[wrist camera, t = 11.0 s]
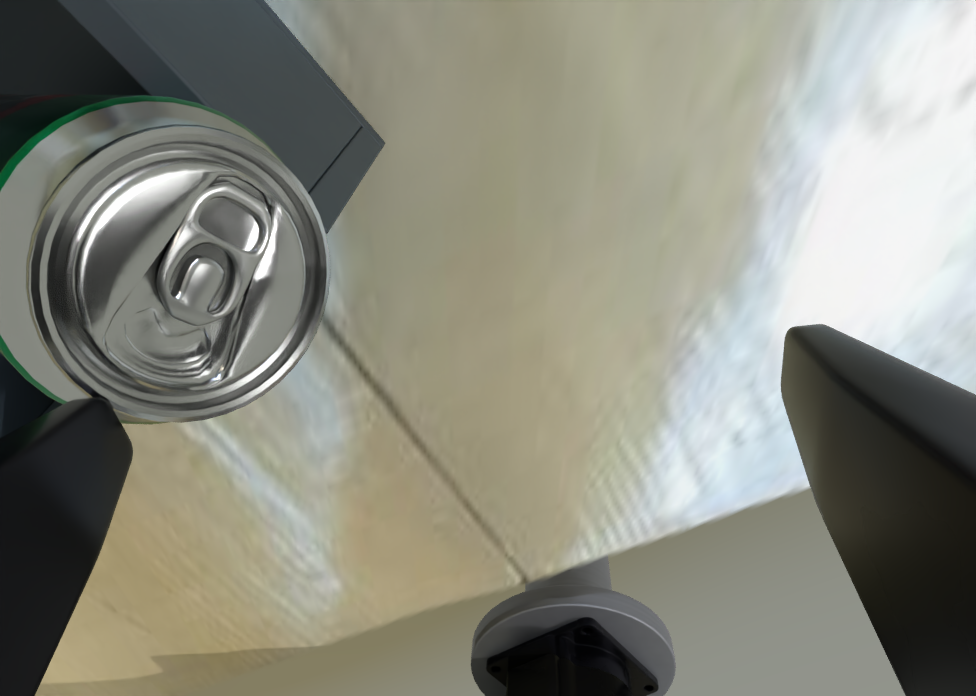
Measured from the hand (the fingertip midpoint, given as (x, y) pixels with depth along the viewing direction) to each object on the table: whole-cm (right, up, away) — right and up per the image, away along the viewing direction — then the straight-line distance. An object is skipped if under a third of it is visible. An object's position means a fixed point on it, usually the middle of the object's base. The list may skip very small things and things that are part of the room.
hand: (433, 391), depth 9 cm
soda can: (-12, +5, +9) cm, 16 cm away
